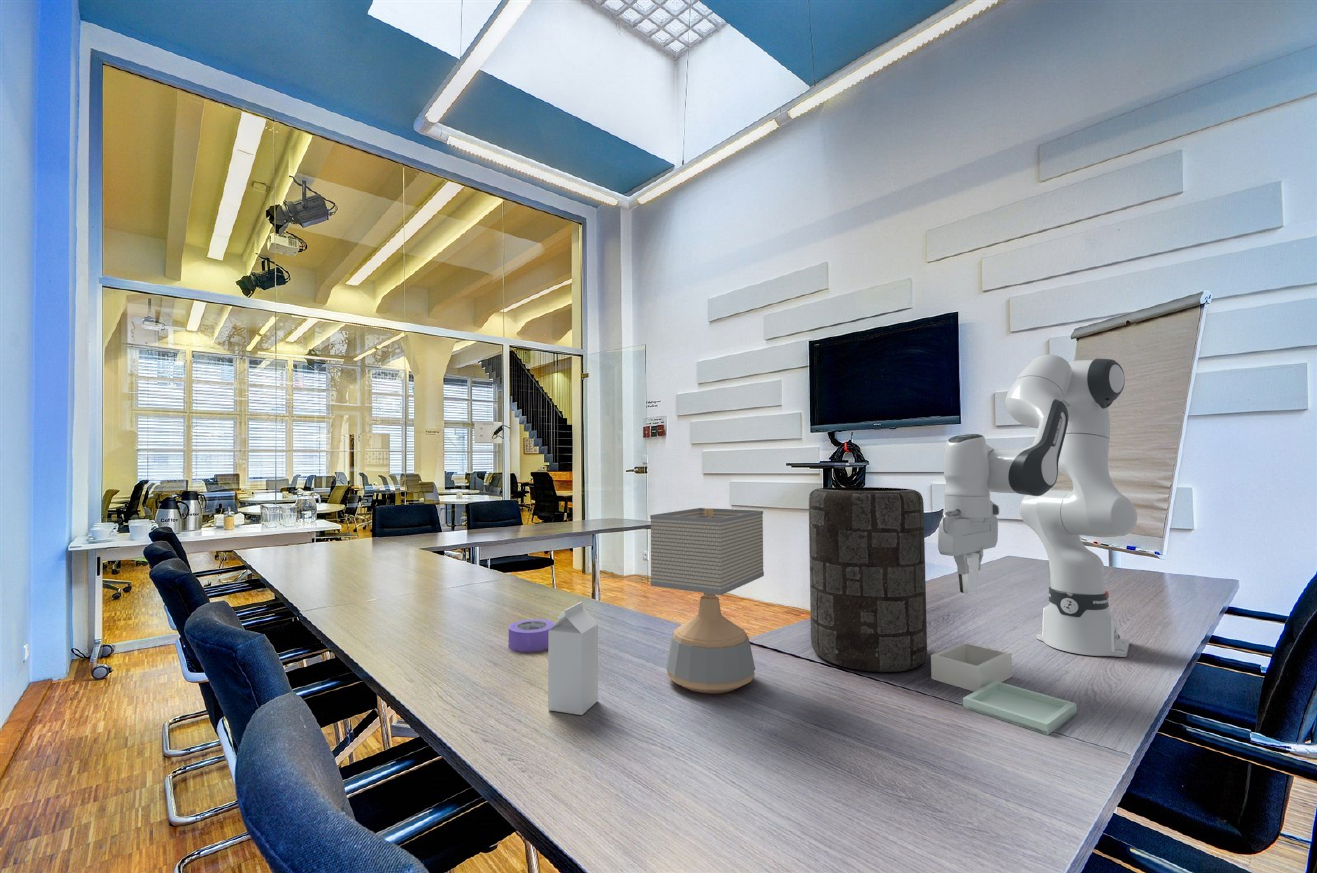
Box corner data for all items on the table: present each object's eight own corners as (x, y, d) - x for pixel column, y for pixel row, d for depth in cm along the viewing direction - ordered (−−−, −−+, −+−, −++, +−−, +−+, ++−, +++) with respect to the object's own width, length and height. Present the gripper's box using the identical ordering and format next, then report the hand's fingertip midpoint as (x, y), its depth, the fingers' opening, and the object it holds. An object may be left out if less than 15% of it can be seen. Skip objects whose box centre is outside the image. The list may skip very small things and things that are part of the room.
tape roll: (549, 652, 142) (549, 631, 143) (502, 652, 143) (502, 631, 143) (558, 638, 154) (558, 619, 154) (515, 638, 154) (515, 619, 155)
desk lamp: (729, 710, 108) (727, 514, 110) (644, 689, 118) (644, 510, 120) (771, 674, 127) (769, 506, 128) (695, 659, 137) (694, 503, 138)
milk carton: (598, 701, 113) (598, 603, 114) (581, 716, 106) (582, 612, 107) (565, 696, 115) (566, 600, 116) (547, 711, 108) (548, 608, 109)
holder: (964, 663, 133) (964, 641, 133) (1012, 676, 125) (1011, 653, 125) (931, 679, 124) (930, 655, 124) (980, 693, 116) (979, 668, 116)
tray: (995, 689, 118) (995, 680, 118) (1076, 713, 106) (1076, 703, 107) (963, 707, 109) (962, 698, 109) (1047, 735, 98) (1047, 724, 98)
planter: (950, 660, 135) (945, 489, 137) (882, 685, 120) (878, 493, 122) (855, 633, 157) (853, 485, 159) (788, 651, 142) (786, 488, 144)
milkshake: (987, 595, 122) (986, 548, 123) (960, 594, 124) (959, 547, 124) (980, 590, 127) (978, 545, 127) (954, 589, 128) (952, 544, 128)
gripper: (959, 512, 117) (961, 581, 116) (1002, 506, 129) (1005, 568, 129) (928, 510, 122) (930, 576, 121) (973, 505, 134) (975, 564, 134)
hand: (969, 572), depth 125 cm, fingers closed on milkshake, 4 cm apart
